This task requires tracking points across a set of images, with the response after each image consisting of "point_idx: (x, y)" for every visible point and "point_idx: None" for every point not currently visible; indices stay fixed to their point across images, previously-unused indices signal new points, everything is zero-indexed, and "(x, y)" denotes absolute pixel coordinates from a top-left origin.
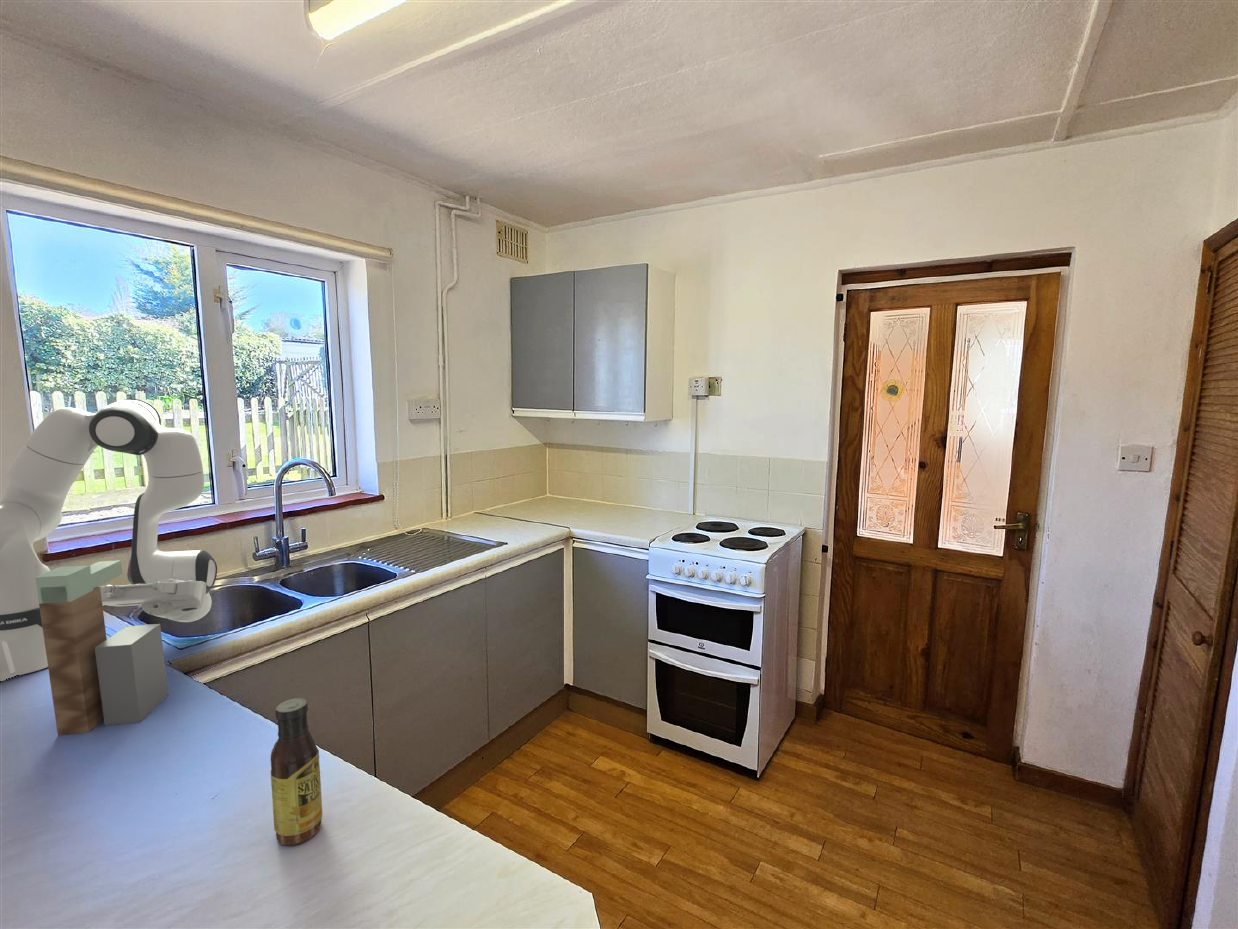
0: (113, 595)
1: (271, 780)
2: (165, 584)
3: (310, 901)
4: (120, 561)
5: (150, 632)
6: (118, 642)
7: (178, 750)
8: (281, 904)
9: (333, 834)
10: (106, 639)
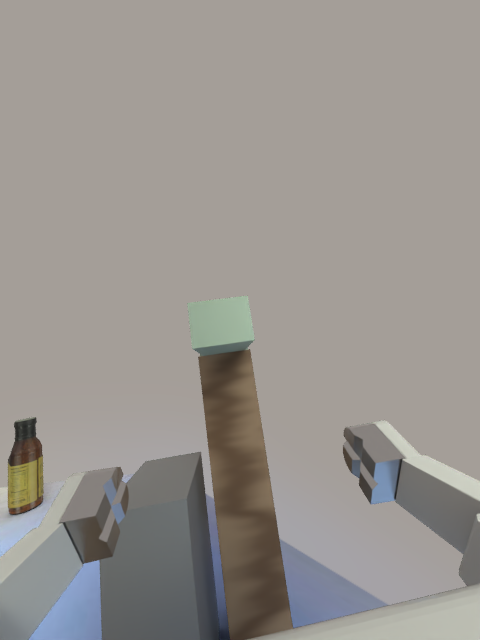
0: (460, 565)
1: (42, 459)
2: (32, 542)
3: (43, 486)
4: (188, 306)
5: None
6: (169, 461)
7: (91, 571)
8: (55, 484)
9: (8, 509)
10: (212, 482)
